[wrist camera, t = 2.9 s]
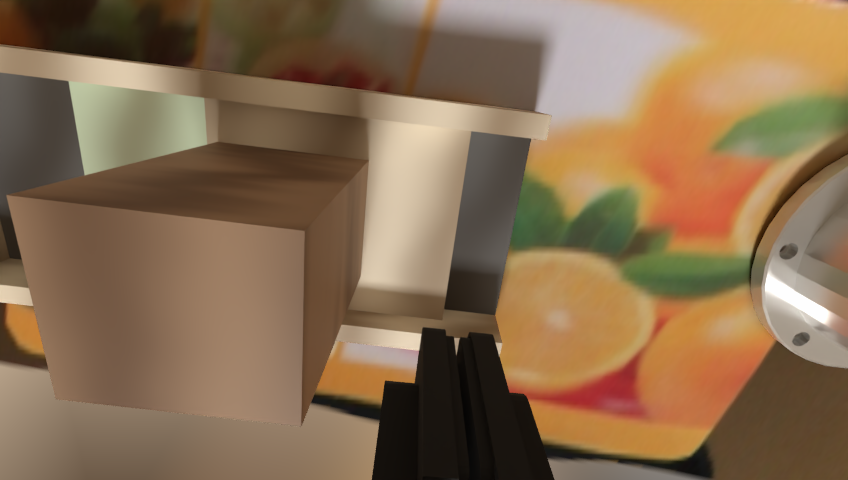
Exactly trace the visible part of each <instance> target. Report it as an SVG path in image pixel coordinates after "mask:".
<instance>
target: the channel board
mask: <svg viewBox="0 0 848 480" xmlns="http://www.w3.org/2000/svg"><path fill="white" fill-rule="evenodd" d="M551 117H552V115H548V114H544V113H540V112H536V111H528V110H520V109H512V108H504V107H496V106H488V105H480V104H472V103H464V102H456V101H448V100H440V99H432V98H424V97H416V96H408V95H400V94H393V93H385V92H377V91H369V90H361V89H353V88H345V87H337V86H329V85H321V84H313V83H305V82H297V81H289V80H281V79H273V78H265V77H257V76H249V75H241V74H233V73H225V72H217V71H209V70H201V69H193V68H185V67H177V66H170V65H162V64H154V63H146V62H138V61H130V60H122V59H114V58H106V57H98V56H90V55H82V54H74V53H66V52H58V51H50V50H42V49H34V48H26V47H18V46H10V45H2V44H0V302H3V303H12V304H21V305H29V306H33V303H32V299H31V295H30V291H29V287H28V282H27V278H26V274H25V270H24V266H23V262H22V258H21V254H20V249H19V245H18V241H17V237H16V233H15V229H14V225H13V221H12V217H11V212H10V208H9V204H8V200H7V196H6V195H9V194H13V193H17V192H21V191H25V190H29V189H33V188H37V187H41V186H45V185H49V184H53V183H57V182H60V181H64V180H68V179H72V178H76V177H80V176H84V175H88V174H92V173H96V172H100V171H104V170H108V169H112V168H116V167H120V166H124V165H128V164H132V163H136V162H140V161H144V160H148V159H152V158H156V157H159V156H163V155H167V154H171V153H175V152H179V151H183V150H187V149H191V148H195V147H199V146H203V145H207V144H211V143H215V142H224V143H232V144H240V145H248V146H256V147H264V148H272V149H281V150H289V151H297V152H305V153H313V154H321V155H329V156H338V157H346V158H354V159H362V160H369V166H368V180H367V194H366V208H365V222H364V236H363V250H362V264H361V277H360V280H359V282H358V285H357V287H356V290H355V292H354V295H353V297H352V300H351V302H350V305H349V307H348V310H347V312H346V315H345V317H344V320H343V322H342V325H341V328H340V330H339V333H338V335H337V338H336V340H335V341H340V342H349V343H357V344H366V345H375V346H383V347H392V348H401V349H409V350H418V351H419V348H420V341H421V334H422V328H423V327H428V328H437V329H445V330H446V336H454V340H455V349H456V355H457V349H458V344H459V339H460V337H465V338H467V337H468V334H469V332H477V333H486V334H493V336H494V339H495V343H496V346H497V350H498V353H499V356H500V351H501V347H502V340H501V336H500V333H499V329H498V325H497V321H496V317H495V313H496V308H497V303H498V298H499V293H500V288H501V283H502V279H503V274H504V269H505V264H506V259H507V254H508V249H509V244H510V239H511V235H512V230H513V225H514V220H515V215H516V210H517V205H518V200H519V195H520V191H521V186H522V181H523V176H524V171H525V166H526V161H527V156H528V151H529V147H530V142H531V139H539V140H547V135H548V131H549V126H550V121H551Z"/></svg>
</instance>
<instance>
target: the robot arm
mask: <svg viewBox="0 0 848 480" xmlns="http://www.w3.org/2000/svg"><path fill="white" fill-rule="evenodd" d="M750 290H751V295H752V301H753V306H754V309H755V311H756V313H757V316H758V318H759V320H760V322H761V324H762V325H763V326H764V327H765V329H766V330H767V331H768V332H769V333H770V335H771V336H772V337H773V338H775V339H776V340H777V341H778V342H780V343H781V344H782V345H784V346H785V347H786V348H787V349H789V350H790V351H792V352H794V353H795V354H797V355H799V356H801V357H802V358H804V359H806V360H809V361H812V362H815V363H818V364H822V365H825V366H832V367H840V368H848V154H847V155H846V156H844V157H842V158H840V159H839V160H837V161H835V162H834V163H832V164H830V165H828V166H827V167H825V168H824V169H823V170H821V171H820V172H819V173H817V174H816V175H815V176H814V177H812V178H811V179H810V180H809V181H807V182H806V183H805V184H803V185H802V186H801V187H800V188H799V189H798V190H797V191H796V192H795V194H794V195H793V196H792V197H791V198H790V199H789V200H788V201H787V202H786V203H785V204H784V205H783V206H782V208H781V209H780V210H779V212H778V213H777V215H776V216H775V218H774V219H773V220H772V222H771V223H770V225H769V226H768V228H767V230H766V232H765V234H764V236H763V238H762V240H761V242H760V244H759V246H758V248H757V252H756V255H755V259H754V263H753V266H752V272H751V289H750ZM372 480H554V477H553V474H552V471H551V468H550V465H549V462H548V459H547V456H546V453H545V450H544V447H543V444H542V441H541V438H540V435H539V432H538V429H537V426H536V423H535V420H534V417H533V414H532V411H531V407H530V404H529V401H528V399H527V397H526V396H525V395H524V394H518V393H509V389H508V386H507V382H506V379H505V375H504V371H503V368H502V364H501V361H500V357H499V353H498V350H497V346H496V343H495V339H494V336H493V334H486V333H477V332H469V334H468V337H467V338H465V337H460V339H459V344H458V349H457V355H456V349H455V340H454V336H446V330H445V329H437V328H428V327H423V328H422V334H421V341H420V348H419V356H418V363H417V371H416V378H415V384H414V383H404V382H393V381H385V385H384V392H383V400H382V407H381V415H380V423H379V430H378V438H377V446H376V453H375V460H374V469H373V475H372Z"/></svg>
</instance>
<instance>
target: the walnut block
mask: <svg viewBox="0 0 848 480" xmlns="http://www.w3.org/2000/svg"><path fill="white" fill-rule="evenodd" d="M368 166H369V160H362V159H354V158H346V157H338V156H329V155H321V154H313V153H305V152H297V151H289V150H281V149H272V148H264V147H256V146H248V145H240V144H232V143H224V142H215V143H211V144H207V145H203V146H199V147H195V148H191V149H187V150H183V151H179V152H175V153H171V154H167V155H163V156H159V157H156V158H152V159H148V160H144V161H140V162H136V163H132V164H128V165H124V166H120V167H116V168H112V169H108V170H104V171H100V172H96V173H92V174H88V175H84V176H80V177H76V178H72V179H68V180H64V181H60V182H57V183H53V184H49V185H45V186H41V187H37V188H33V189H29V190H25V191H21V192H17V193H13V194H9V195H6V196H7V200H8V204H9V208H10V212H11V217H12V221H13V225H14V229H15V233H16V237H17V241H18V245H19V249H20V254H21V258H22V262H23V266H24V270H25V274H26V278H27V282H28V287H29V291H30V295H31V299H32V303H33V307H34V311H35V315H36V319H37V324H38V328H39V332H40V336H41V340H42V344H43V348H44V352H45V356H46V361H47V365H48V369H49V373H50V377H51V381H52V385H53V389H54V393H55V398H56V399H59V400H68V401H77V402H86V403H94V404H103V405H113V406H121V407H131V408H139V409H148V410H157V411H166V412H175V413H183V414H192V415H201V416H210V417H219V418H228V419H237V420H246V421H255V422H263V423H273V424H281V425H290V426H299V427H301V426H302V423H303V421H304V418H305V416H306V413H307V411H308V408H309V406H310V403H311V401H312V398H313V396H314V393H315V391H316V388H317V386H318V383H319V381H320V378H321V375H322V373H323V370H324V368H325V365H326V363H327V360H328V358H329V355H330V353H331V350H332V348H333V345H334V343H335V340H336V338H337V335H338V333H339V330H340V328H341V325H342V322H343V320H344V317H345V315H346V312H347V310H348V307H349V305H350V302H351V300H352V297H353V295H354V292H355V290H356V287H357V285H358V282H359V280H360V277H361V264H362V250H363V236H364V222H365V208H366V194H367V180H368Z"/></svg>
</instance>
